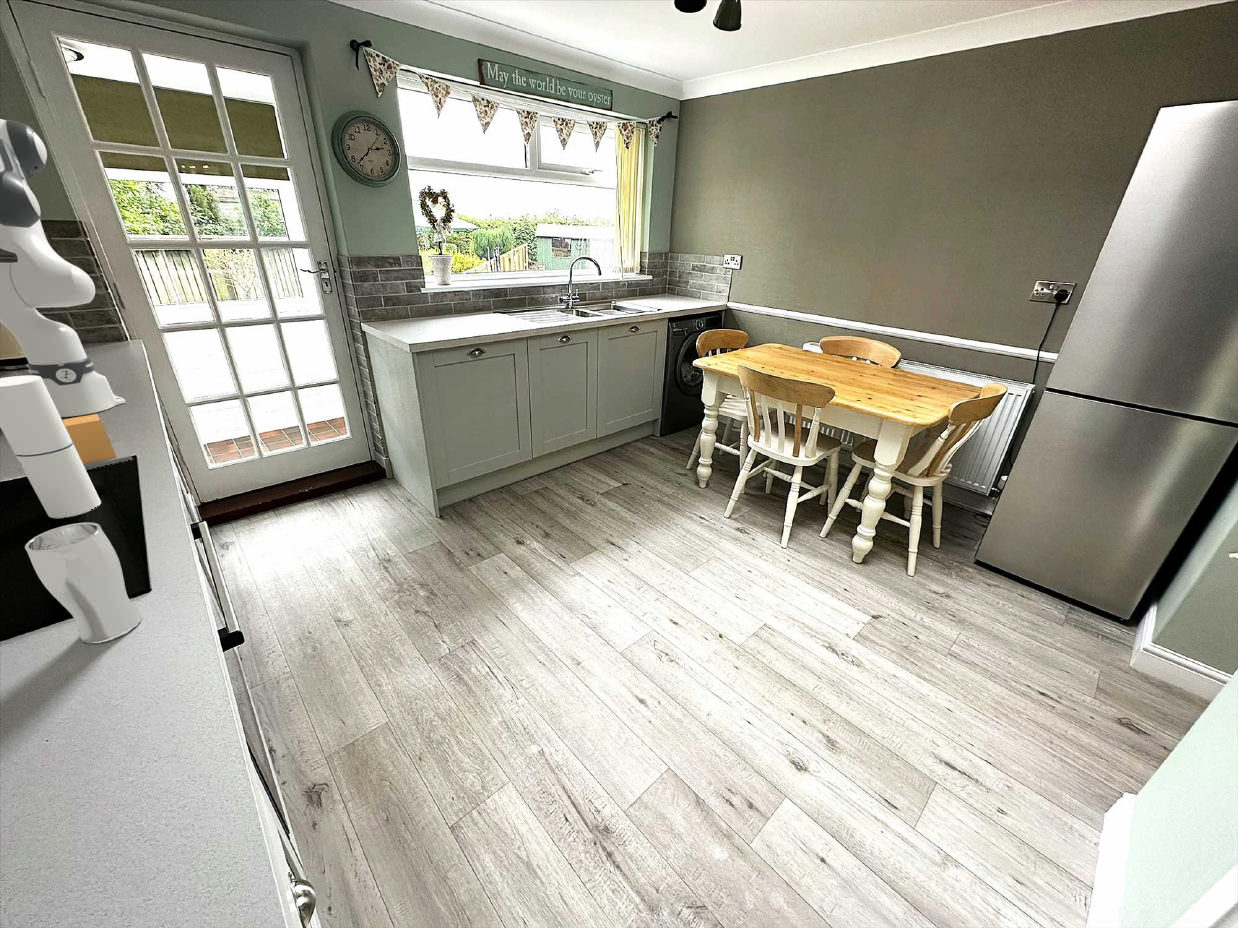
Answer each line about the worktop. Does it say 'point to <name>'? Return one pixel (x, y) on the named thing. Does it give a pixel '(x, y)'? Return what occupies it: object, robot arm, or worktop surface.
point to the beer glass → (84, 579)
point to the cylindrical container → (44, 447)
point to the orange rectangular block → (89, 438)
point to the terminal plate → (121, 455)
